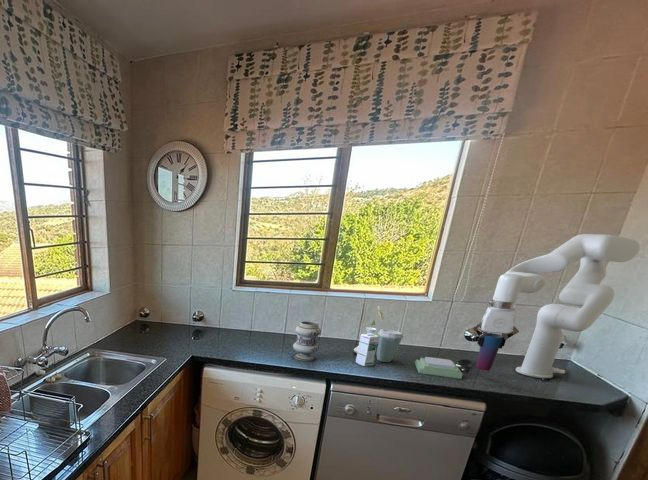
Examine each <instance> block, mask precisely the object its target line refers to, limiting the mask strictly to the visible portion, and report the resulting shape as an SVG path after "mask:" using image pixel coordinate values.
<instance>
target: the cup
mask: <svg viewBox="0 0 648 480" xmlns="http://www.w3.org/2000/svg"><path fill="white" fill-rule="evenodd" d="M503 337H504V336H503V335H502V334H501V333H492V332H487V333H486V334H485V335H484V342H483V345H482V346H481V347H480V346H479V352H478V354H477V355H478V356H477V360H476V364H475V369H478V370H481V371H491V368H492V367H493V364H494V362H495V359H496V357H497V355H498V351H499V349H500V348H499V347H500V345H501V342H502V340H503Z"/></svg>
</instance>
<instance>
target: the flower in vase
mask: <svg viewBox="0 0 648 480" xmlns="http://www.w3.org/2000/svg"><path fill="white" fill-rule="evenodd" d="M377 312H378V313H377V314H376V315H375V316H374V318H373V319H372V322H371V323H370V324H369V326H366V327H365V330H366V334H370V333H371V334H375V332H376V331H377V330H378V329H377V328H376V327H373V326H375V325H376V320H375V319H376V318H377V317H378V316H380V319H381V320H382V321H385V317H384V315H383V314H384V313H383V312H382V309H381V306H380V305H377ZM358 347H359V345H357V346H356V347H354V348H353V352H354V353H356V354H357V353H358ZM376 356H377V352H376Z"/></svg>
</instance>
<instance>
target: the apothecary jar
mask: <svg viewBox="0 0 648 480" xmlns="http://www.w3.org/2000/svg"><path fill="white" fill-rule="evenodd" d="M319 326H320V325H319V322H316V321H313V320H302V321H300V322H299V325H297V326H296V327H295V329H294V330H295V333H296V334H297V335H296V340H295V342H294V343H293V344H292V348H293V350H294V352H297V353H296V354H294V355H293V358H294V359H296V360H297V361H301V362H313V361H315V359H316V357H315V356H314V355H312V354H316V353H317V352H319V349H320V346H319V344H318V338H319V336H320V335H321V334H322V329H321V328H320V327H319Z"/></svg>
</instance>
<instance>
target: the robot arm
mask: <svg viewBox="0 0 648 480" xmlns="http://www.w3.org/2000/svg"><path fill="white" fill-rule="evenodd" d="M640 249H641V244H640V243H639V241H637V240H635V239H633V238H629V237H628V238H627V237H623V236H618V235H613V234H604V233H602V234H601V233H582V234H577V235H574V236H573V237H572V238H570V239H569V240H567V241H565V242H564V243H563V244H561V245H559V246H558V247H557V248H555V249H554V250H552V251H550V252H549V253H547V254H544V255H539V256H536V257H533V258H531V259H527V260H525V261H522V262H520V263H518V264H516V265H515V266H513V267H512V268H510V269H509V270H507V271H506V272H505V273H503V274H501V275H500V276H499V277H498V279H497V283H496V287H495V290H494V292H493V293H494V294H493V296H492V299H491V300H489V301H487V302H486V305H489V306H488V307H487V309H486V310H485V312H484V315H483V316H482V319H481V321H480V322H479V323H477V324H475V325H473V326H472V327H471V328H472V330H473V331H474V332H475V333H476V334H477V336H478V339H477V345H478V346H479V348H480V347H481V346H482V345H483V342H484V335H485V334H486V333H494V334H501V335H503V336H504V337H503V340H502V342H501V345H500V347H499V349H503V347H505V344H506V342H507V340H508V339H510V338H512V337H513V336H515V335H517V334H519V332H520V331H519V329H518V328H517V327H516V326H515V322H516V317H517V309H516V308H515V307H516V304H517V301H518V298H519V296H520V295H519V294H520V293H525V294H534V293H538V292H539V291H541V290H543V289H544V287H545V286H546V278H545V277H544V276H543V275H542V274H549V273H550V274H551V273H557V272H561V271H564V270H566V269H568V268H569V267H571V266H572V265H574V264H575V263H577V262H578V261H579V260H580V261H579V262H580V264H579V268H578V270H577V272H576V273H575V274H574V276H573V277H572V278H571V279H570V280H569V281H568V283H567V284H566V285H565V286H564V287H563V288H562V290H561V291H560V292H559V295H558V300H559V302H561V303H563V304H561V303H548V304H545V305H543V306H542V307H540V308H539V310H538V312H537V314H536V321H535V328H534V331H533V333H532V337H531V339H530V342H529V345H528V347H527V349H526V350H527V351H526V354H525V355H524V359H523V361H522V364H521V366H516V367H515V372H517V373H519V374H520V375H524V376H528V377H531V378H537V379H552V378H553V377H554V374H559V375H564V374H565V373H566V370H565V369H561V368H559V367H554V366H553V364H554V362H555V359H556V357H557V354H558V352H559V350H560V347H561V344H562V342H563V340H564V334H563V330H566V331H569V332H570V331H571V332H576V333H579V332H580V333H581V332H584V331H586V330H587V329H589V328H590V327H591V326H592V325H593V324H594V323H595V322H596V321H597V320H598V318H599V317H601V315H602V314H603V313H604V312H605V310H607V308H609V306H610V305H611V304H612V302H613V300H614V297H615V290H614V288H613V287H611V286H609V285H606V284H605V285H604V284H601V283H602V281H604V279H605V278H606V276H607V270H606V266H605V264H604V262H615V263H626V262H629V261H631V260H633V259H634V258H636V257H637V256H638V255H639V253H640ZM479 328H480V329H481V330H480V329H479Z"/></svg>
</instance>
